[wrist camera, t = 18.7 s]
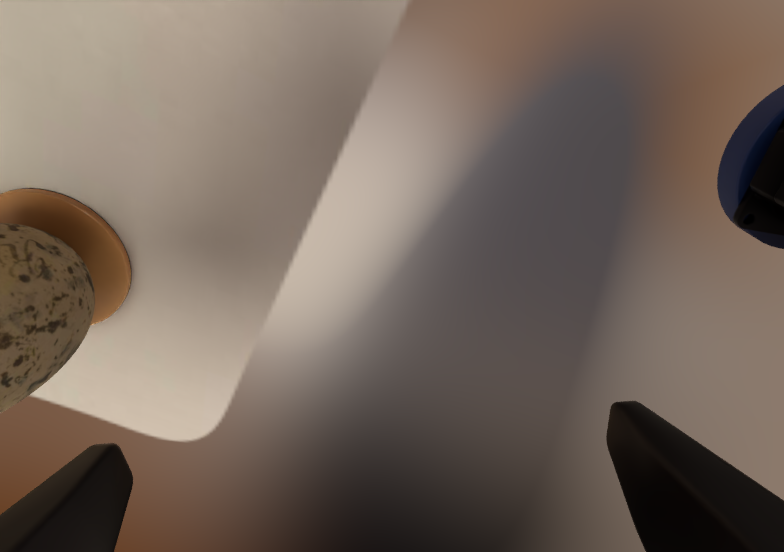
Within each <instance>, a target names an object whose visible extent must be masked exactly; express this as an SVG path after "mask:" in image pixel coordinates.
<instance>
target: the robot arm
mask: <svg viewBox="0 0 784 552" xmlns="http://www.w3.org/2000/svg"><path fill="white" fill-rule="evenodd" d="M748 214H749V217H748V218H747V219H746V220H745V221H743V220H744V218H745V216H747V215H748ZM733 222H734V223H735V225H737V226H739V227H740V228H743V229H747V230H753V231H759V232H765V233H771V234H777V235H783V236H784V119H783V121H782V123H781V125H780V126H779V128H778V130H777V132H776V134H775V136H774V138H773V140H772V142H771V144H770V146H769V148H768V150H767V152H766V153H765V155H764V157H763V159H762V161H761V163H760V165H759V167H758V169H757V171H756V173H755V175H754V177H753V179H752V180H751V182H750V184H749V186H748V188H747V190H746V192H745V194H744V196H743V198H742V200H741V202H740V204H739V205H738V207H737V209H736V211H735V213H734V216H733ZM607 446H608V450H609V452H610V456H611V458H612V461H613V464H614V467H615V470H616V473H617V476H618V479H619V482H620V485H621V488H622V490H623V493H624V496H625V499H626V502H627V505H628V508H629V511H630V514H631V517H632V519H633V522H634V525H635V527H636V530H637V533H638V535H639V537H640V539H641V542H642V544H643V546H644V548H645V551H646V552H784V501H783V500H782V499H780V498H779V497H778V496H776V495H775V494H773V493H772V492H770V491H769V490H767V489H766V488H764V487H763V486H762V485H760V484H758V483H757V482H756V481H754V480H753V479H751V478H750V477H748V476H747V475H745V474H744V473H742V472H741V471H739V470H738V469H736V468H735V467H733V466H732V465H731V464H729V463H728V462H726V461H724V460H723V459H722V458H720V457H719V456H717V455H716V454H714V453H713V452H711V451H710V450H709V449H707V448H706V447H704V446H702V445H701V444H699V443H698V442H697V441H695V440H694V439H692V438H691V437H689V436H688V435H686V434H685V433H683V432H682V431H680V430H679V429H678V428H676V427H675V426H673V425H671V424H670V423H669V422H667V421H666V420H664V419H663V418H661V417H660V416H658V415H657V414H656V413H654V412H653V411H651V410H650V409H648V408H646V407H645V406H644V405H642V404H641V403H638V402H637V401H624V402H616V403H614V404H612V406H611V409H610V415H609V422H608V429H607ZM132 484H133V476H132V472H131V470H130V468H129V466H128V464H127V461H126V459H125V457H124V455H123V453H122V451H121V449H120V447H119V446H118V445H117V444H114V443H108V444H96V445H93V446H91V447H89V448H87V449H86V450H85V451H84V452H82V453H81V454H80V455H78V456H77V457H76V458H75V459H73V460H72V461H70V462H69V463H68V464H67V465H65V466H64V467H63V468H61V469H60V470H59V471H57V472H56V473H55V474H53V475H52V476H51V477H49V478H48V479H47V480H46V481H44V482H43V483H42V484H41V485H39V486H38V487H36V488H35V489H34V490H32V491H31V492H30V493H28V494H27V495H26V496H25V497H23V498H22V499H21V500H19V501H18V502H17V503H15V504H14V505H13V506H11V507H10V508H9V509H8V510H6V511H5V512H4V513H2V514H1V515H0V552H114V549H115V546H116V542H117V539H118V535H119V532H120V528H121V525H122V521H123V517H124V514H125V511H126V507H127V503H128V500H129V497H130V493H131V490H132Z"/></svg>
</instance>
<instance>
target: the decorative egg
mask: <svg viewBox="0 0 784 552" xmlns="http://www.w3.org/2000/svg"><path fill="white" fill-rule="evenodd" d="M94 308H95V290H94V285H93V281H92V277H91V275H90V272H89V270H88V268H87V266H86V265H85V263H84V262H83V260H82V259H81V257H80V256H79V255H78V254H77V253H76V252H75V251H74V250H73V249H72V248H71V247H70V246H69V245H67V244H66V243H65V242H63V241H62V240H60V239H59V238H57V237H55V236H53V235H51V234H49V233H47V232H45V231H42V230H40V229H37V228H33V227H29V226H25V225H19V224H12V223H0V413H2V412H3V411H5V410H7V409H8V408H10V407H12V406H13V405H15V404H16V403H18V402H19V401H21V400H22V399H24V398H25V397H27V396H28V395H30V394H31V393H32V392H34V391H35V390H36V389H38V388H39V387H40V386H42V385H43V384H44V383H45V382H47V381H48V380H49V379H50V378H51V377H52V376H53V375H54V374H56V373H57V372H58V371H59V370H60V369H61V368H62V367H63V366H64V365H65V363H66V362H67V361H68V360H69V359H70V358H71V357H72V355H73V354H74V353H75V352H76V350H77V349H78V347H79V346H80V344H81V343H82V341H83V339H84V338H85V336H86V334H87V332H88V329H89V327H90V324H91V321H92V318H93V314H94Z"/></svg>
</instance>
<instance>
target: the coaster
mask: <svg viewBox="0 0 784 552" xmlns="http://www.w3.org/2000/svg"><path fill="white" fill-rule="evenodd" d="M0 223H12V224H19V225H25V226H29V227H33V228H37V229H40V230H42V231H45V232H47V233H49V234H51V235H53V236H55V237H57V238H59V239H60V240H62V241H63V242H65V243H66V244H67V245H69V246H70V247H71V248H72V249H73V250H74V251H75V252H76V253H77V254H78V255H79V256H80V257H81V259H82V260H83V262H84V263H85V265H86V266H87V268H88V270H89V272H90V275H91V277H92V281H93V285H94V290H95V308H94V314H93V318H92V321H91V324H90V325H93V324H96V323H99V322H101V321H103V320H105V319H106V318H108V317H109V316H111V315H112V314H113V313H114V312H115V311H116V310H117V309H118V308H119V307H120V305H121V304H122V303H123V301H124V300H125V298H126V296H127V294H128V291H129V288H130V283H131V269H130V262H129V259H128V256H127V253H126V251H125V248H124V246H123V244H122V243H121V241H120V239H119V237H118V236H117V235H116V233H115V232H114V231H113V229H112V228H111V227H110V226H109V225H108V224H107V223H106V222H105V221H104V220H103V219H102V218H101V217H100V216H99V215H97V214H96V213H95V212H94V211H92V210H91V209H89V208H88V207H86V206H85V205H83V204H81V203H80V202H78V201H76V200H74V199H71V198H69V197H67V196H65V195H61V194H58V193H55V192H51V191H46V190H40V189H18V190H11V191H8V192H5V193H2V194H0Z"/></svg>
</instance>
